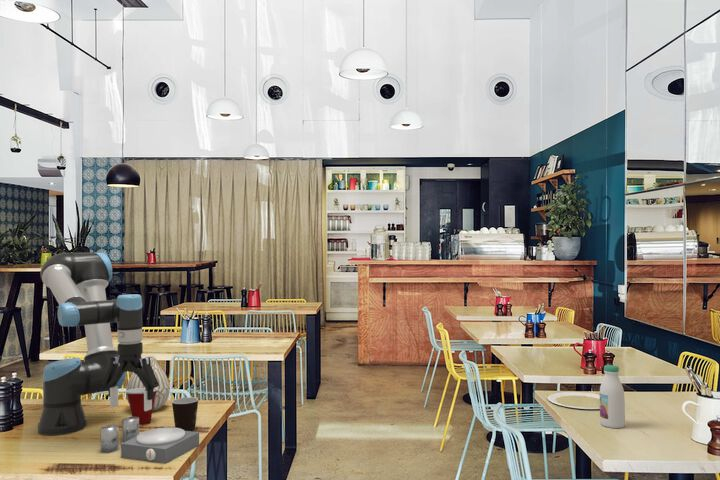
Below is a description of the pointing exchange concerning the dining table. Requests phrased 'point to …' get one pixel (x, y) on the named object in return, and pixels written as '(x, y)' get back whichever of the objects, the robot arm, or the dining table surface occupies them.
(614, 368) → the milk bottle
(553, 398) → the plate
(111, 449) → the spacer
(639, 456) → the dining table surface
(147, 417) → the plastic cup
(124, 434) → the cylinder
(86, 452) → the dining table surface
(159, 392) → the vase
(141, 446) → the scale
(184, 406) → the coffee mug
